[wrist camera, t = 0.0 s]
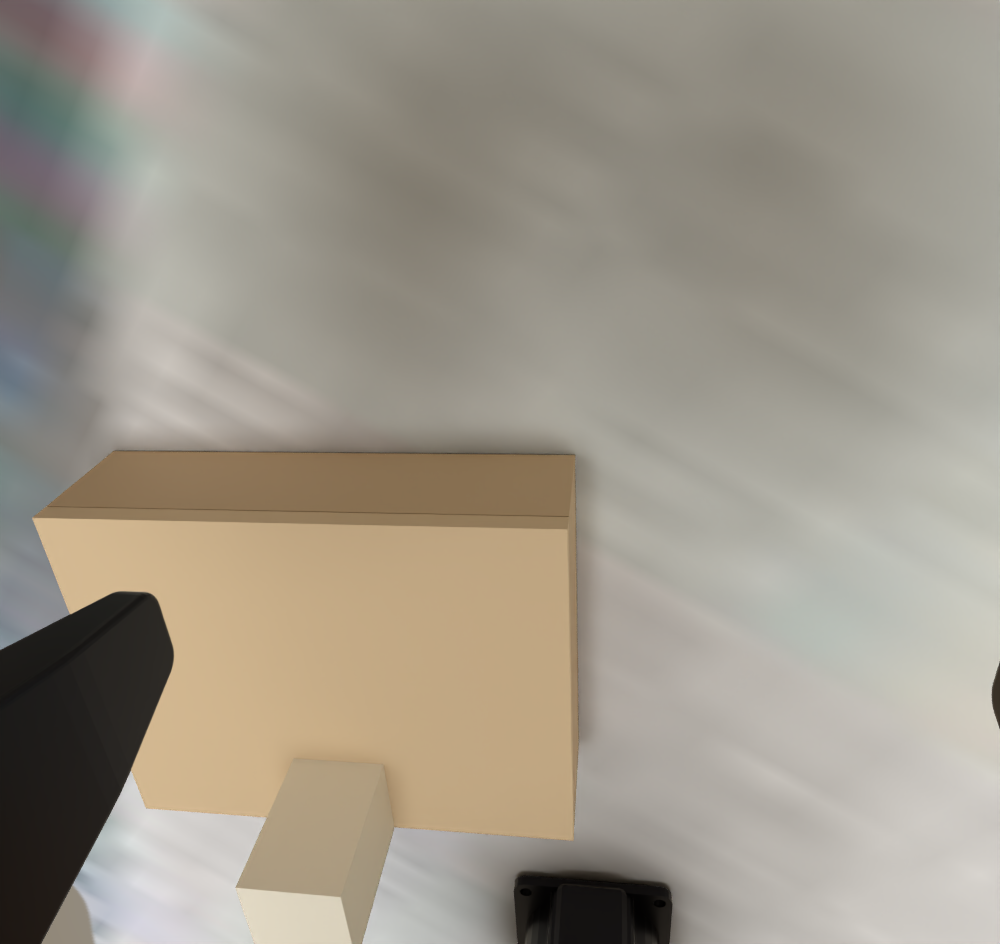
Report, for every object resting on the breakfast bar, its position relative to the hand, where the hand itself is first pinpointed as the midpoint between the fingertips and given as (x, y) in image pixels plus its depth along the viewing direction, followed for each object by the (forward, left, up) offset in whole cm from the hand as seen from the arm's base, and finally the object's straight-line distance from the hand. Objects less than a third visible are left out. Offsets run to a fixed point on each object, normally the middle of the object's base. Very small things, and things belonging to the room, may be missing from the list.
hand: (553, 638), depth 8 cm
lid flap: (-11, +8, -11) cm, 18 cm away
